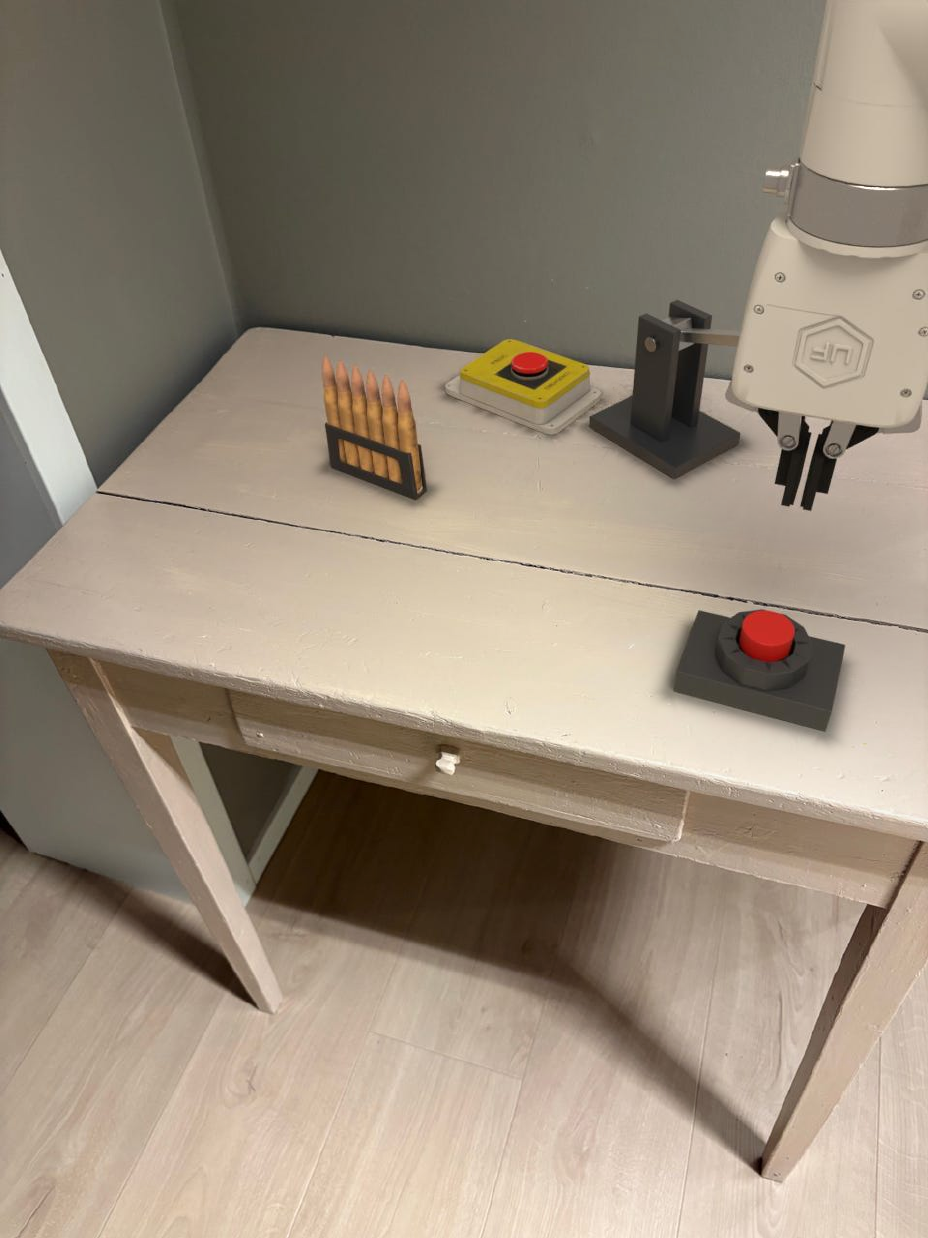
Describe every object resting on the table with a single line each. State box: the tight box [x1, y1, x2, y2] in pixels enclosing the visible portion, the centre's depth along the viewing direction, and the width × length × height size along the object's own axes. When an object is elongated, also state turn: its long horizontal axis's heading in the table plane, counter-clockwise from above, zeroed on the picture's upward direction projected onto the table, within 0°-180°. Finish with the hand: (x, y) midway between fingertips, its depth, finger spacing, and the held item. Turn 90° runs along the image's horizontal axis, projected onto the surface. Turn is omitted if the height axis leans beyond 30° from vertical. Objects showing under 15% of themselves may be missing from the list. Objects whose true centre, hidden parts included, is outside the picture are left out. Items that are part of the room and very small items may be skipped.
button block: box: [673, 608, 846, 732], centre depth 71 cm, size 11×7×4 cm, turn 67°
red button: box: [739, 609, 795, 662], centre depth 69 cm, size 4×4×2 cm
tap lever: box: [661, 316, 741, 351], centre depth 84 cm, size 13×5×2 cm, turn 37°
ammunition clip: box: [321, 355, 428, 501], centre depth 89 cm, size 11×2×12 cm, turn 55°
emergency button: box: [444, 338, 602, 436], centre depth 102 cm, size 9×4×15 cm
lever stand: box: [588, 299, 741, 480], centre depth 92 cm, size 12×9×13 cm
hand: (799, 494), depth 60 cm, fingers closed
